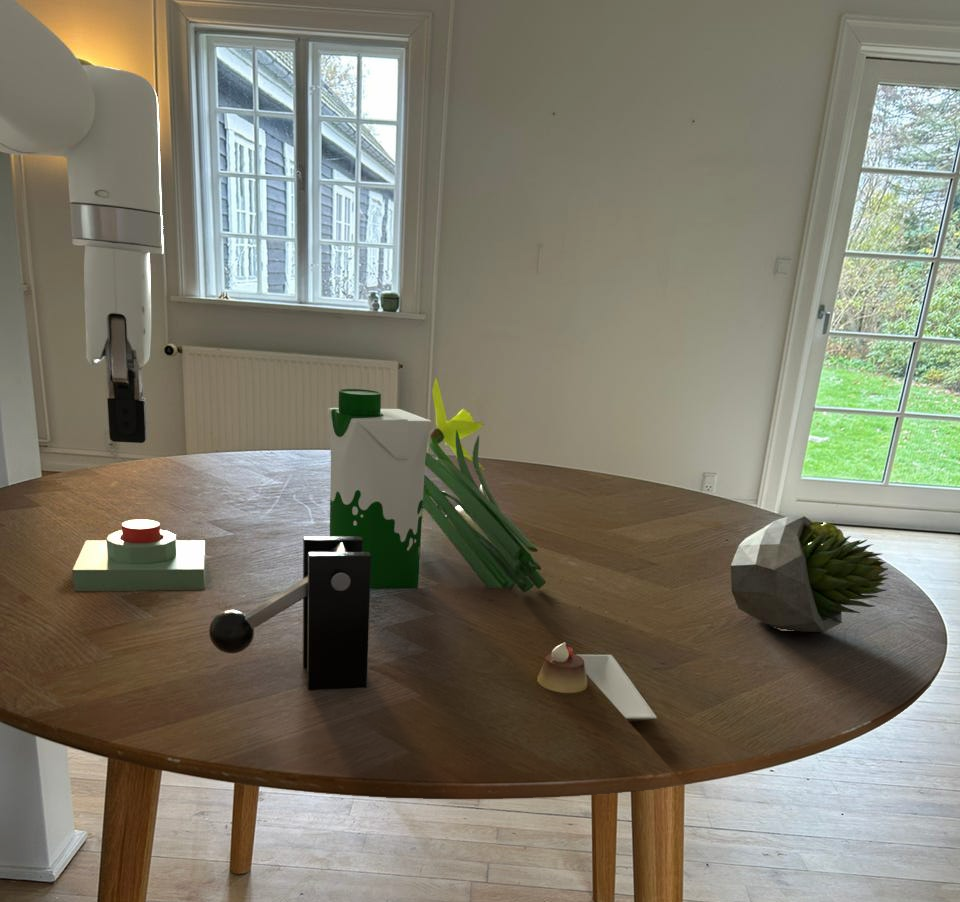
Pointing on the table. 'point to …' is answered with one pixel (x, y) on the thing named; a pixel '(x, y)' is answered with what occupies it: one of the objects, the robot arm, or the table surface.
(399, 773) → the table surface
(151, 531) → the button
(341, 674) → the bracket
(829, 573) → the potted plant
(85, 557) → the control block
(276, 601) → the lever
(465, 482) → the daffodil flowers
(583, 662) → the dessert
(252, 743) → the table surface
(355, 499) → the milk carton
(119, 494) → the table surface
